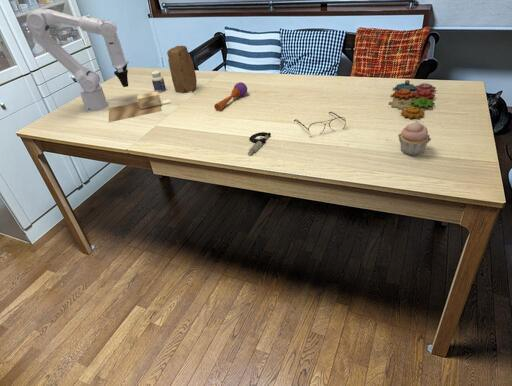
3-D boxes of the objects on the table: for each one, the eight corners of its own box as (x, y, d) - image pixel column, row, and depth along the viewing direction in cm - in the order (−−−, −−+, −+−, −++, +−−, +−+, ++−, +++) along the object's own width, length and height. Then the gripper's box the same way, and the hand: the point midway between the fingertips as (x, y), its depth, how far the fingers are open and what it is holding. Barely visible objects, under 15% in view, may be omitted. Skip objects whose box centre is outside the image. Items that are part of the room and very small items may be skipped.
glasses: (308, 138, 128) (307, 124, 125) (293, 125, 141) (292, 112, 138) (346, 129, 130) (346, 116, 128) (328, 117, 143) (328, 105, 140)
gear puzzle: (432, 123, 128) (435, 112, 126) (384, 119, 134) (385, 108, 131) (435, 88, 150) (436, 79, 148) (393, 86, 156) (394, 77, 154)
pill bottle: (165, 94, 174) (160, 73, 168) (154, 95, 175) (148, 74, 169) (167, 89, 179) (162, 69, 173) (156, 90, 179) (151, 70, 173)
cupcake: (420, 141, 118) (426, 112, 112) (433, 156, 111) (439, 126, 105) (391, 144, 118) (395, 115, 112) (401, 159, 111) (406, 130, 105)
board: (109, 124, 153) (108, 122, 152) (109, 110, 165) (108, 108, 164) (162, 113, 157) (161, 110, 156) (158, 99, 169) (158, 97, 169)
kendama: (209, 101, 152) (236, 80, 164) (214, 114, 155) (241, 93, 167) (220, 100, 149) (247, 79, 161) (225, 114, 152) (251, 92, 164)
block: (186, 96, 170) (176, 51, 158) (173, 94, 173) (163, 50, 161) (200, 87, 177) (192, 44, 165) (188, 85, 180) (179, 43, 168)
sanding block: (141, 110, 159) (137, 99, 156) (140, 106, 163) (137, 95, 160) (161, 105, 161) (158, 94, 158) (160, 101, 164) (157, 91, 161)
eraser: (162, 108, 162) (161, 103, 161) (161, 104, 165) (160, 100, 164) (171, 106, 163) (170, 101, 161) (170, 103, 166) (169, 98, 164)
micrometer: (255, 133, 135) (255, 126, 133) (273, 136, 132) (272, 129, 130) (234, 153, 125) (233, 146, 123) (252, 157, 122) (251, 150, 120)
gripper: (125, 54, 150) (135, 87, 158) (124, 46, 161) (134, 77, 169) (108, 58, 149) (118, 90, 157) (108, 49, 160) (118, 80, 168)
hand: (125, 83), depth 163 cm, fingers open, 7 cm apart
